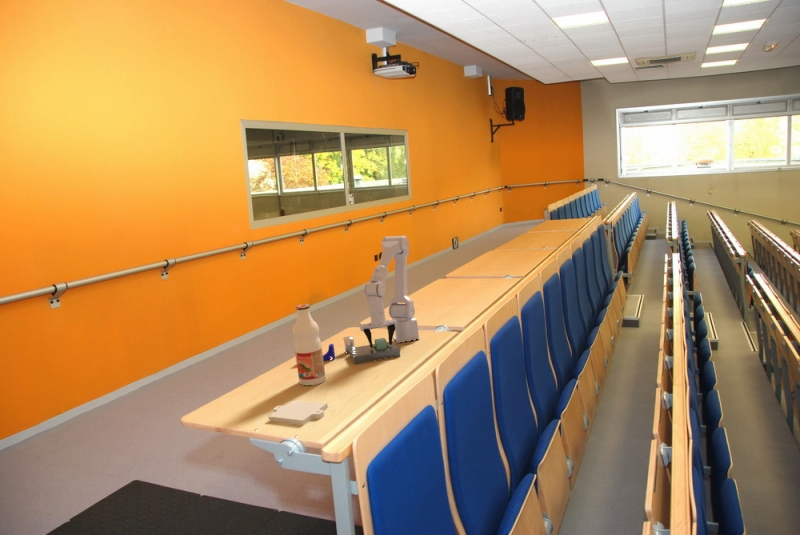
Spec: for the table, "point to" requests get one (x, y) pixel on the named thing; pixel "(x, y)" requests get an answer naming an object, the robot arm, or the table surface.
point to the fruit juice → (308, 348)
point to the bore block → (373, 353)
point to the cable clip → (329, 353)
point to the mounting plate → (298, 412)
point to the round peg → (349, 343)
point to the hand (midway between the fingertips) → (381, 345)
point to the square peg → (380, 344)
